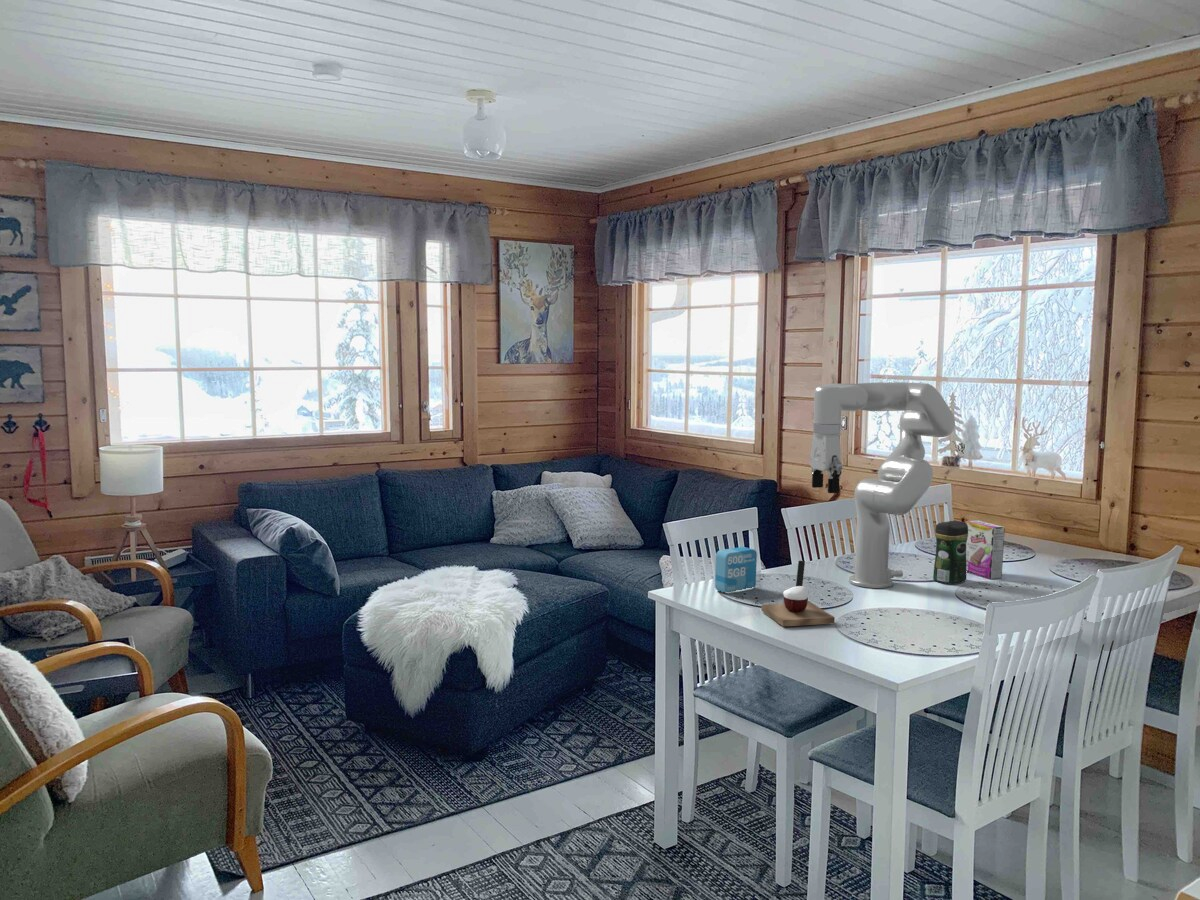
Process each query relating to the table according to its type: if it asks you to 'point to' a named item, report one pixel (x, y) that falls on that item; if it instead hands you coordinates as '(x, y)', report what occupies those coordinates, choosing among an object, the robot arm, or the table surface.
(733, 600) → the table surface
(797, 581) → the cocoa
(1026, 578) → the table surface
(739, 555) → the data package
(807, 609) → the stand
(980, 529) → the candy bar box
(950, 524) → the coffee jar
